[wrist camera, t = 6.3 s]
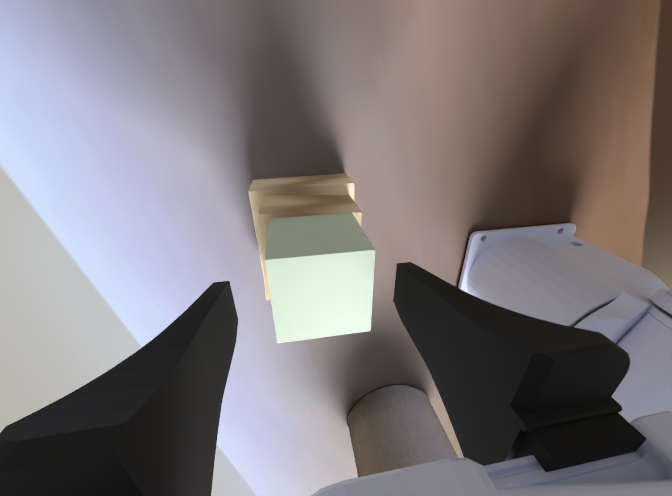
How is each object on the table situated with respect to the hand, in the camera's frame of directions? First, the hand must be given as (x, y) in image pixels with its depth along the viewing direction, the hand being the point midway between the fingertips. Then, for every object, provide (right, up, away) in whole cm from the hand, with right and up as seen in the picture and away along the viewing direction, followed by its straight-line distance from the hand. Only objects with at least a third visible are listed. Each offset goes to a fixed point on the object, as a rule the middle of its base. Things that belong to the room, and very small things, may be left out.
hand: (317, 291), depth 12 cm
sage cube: (0, +2, +2) cm, 3 cm away
